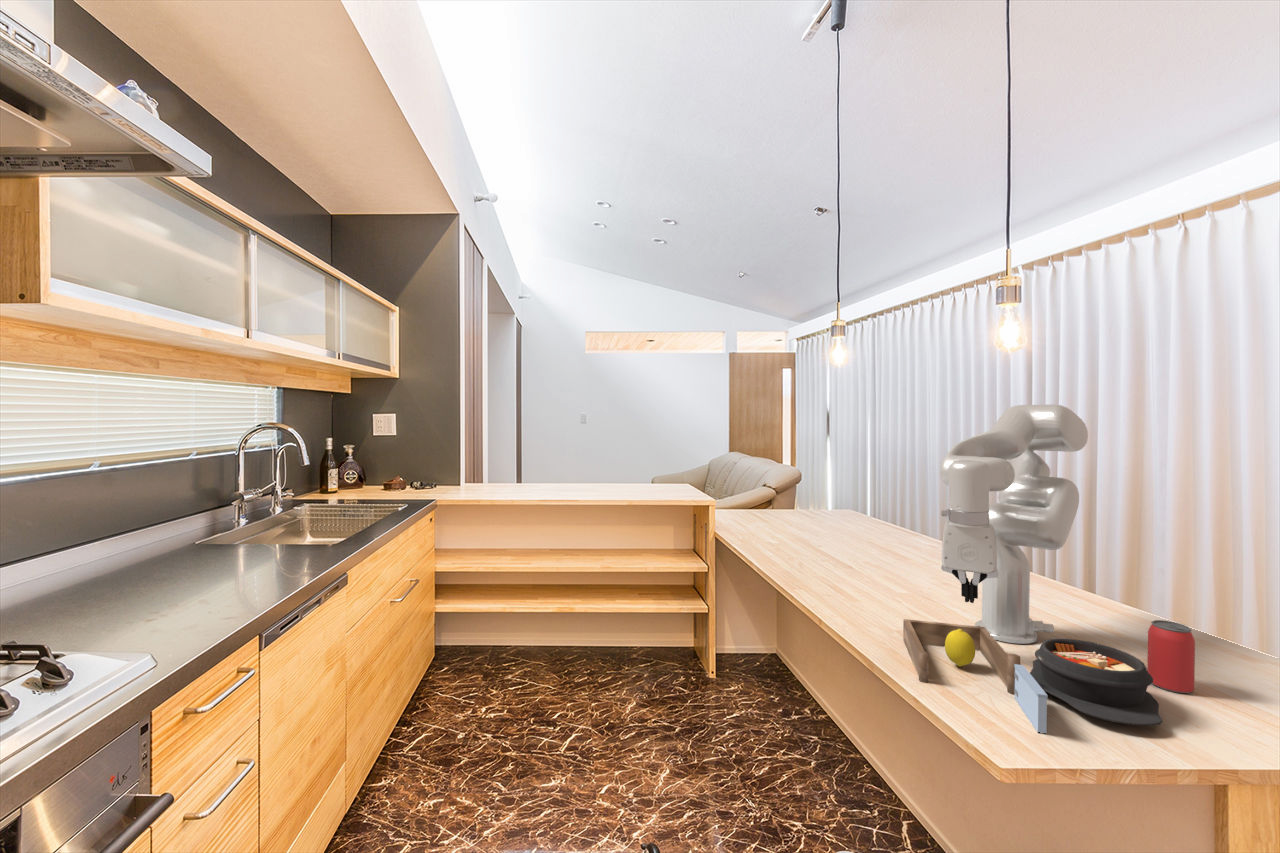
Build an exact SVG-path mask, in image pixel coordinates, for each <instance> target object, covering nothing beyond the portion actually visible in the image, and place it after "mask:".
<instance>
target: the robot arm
mask: <svg viewBox="0 0 1280 853" xmlns="http://www.w3.org/2000/svg"><path fill="white" fill-rule="evenodd" d="M1088 437H1089V432H1088V427H1087V426H1086V423H1085V422H1084V420H1083V419H1082V418H1080V416H1079V415H1077V414H1076V413H1075V412H1074V411H1073V410H1071V408H1069V407H1066V406H1063V405H1060V404H1020V405H1019V404H1018V405H1015V406H1011V407H1008V409H1006V410H1005V411H1004V412H1003V413H1002V414H1001V416H1000V417H999V418H998V419H997V421H996V422H995V423H994V424H993V426H992V427H990V429H989V430H988V431H986V432H983V433H980V434H977V435H975V436H972V437H969V438H967V439H965V440H961V441H960V442H958V443H956V444H955V445H954V446H953V447H951V448H950V450H949V452H947V454H946V455H945V456H944V458H943V460H942V462H941V463H940V468H939V476H940V479H941V481H942V482H943V483H944V484H945V485H946V486H948V508H947V509H945V510H943V509H942V510H941V512H940V515H941V517H945V518H947V519H948V520H946V521H945V523H944V526H943V531H942V532H943V533H942V541H941V542H942V543H941V544H942V545H941V548H942V549H941V563H942V564H941V568H940V569H941V571H943V572H945V573H949V574H952V575H953V576H954V577H955V578H956V579H957V580H958V581H959V583H960V585H961V588H960V589H961V593H960V594H961V597H962V598H963V597H964V602H965V603H968V602H969V603H971V604H974V602H975V599H979V589H978V588H979V584H980V583H982V587H981V592H982V595H981V603H982V604H981V620H977V621H976V622H975V623H974V626H978V627H985V628H986V629H987V631H988V632H989V633H990V634H991V635H992V637H993V638H994V639H995V640H996V641H999V642H1003V643H1008V644H1020V645H1021V644H1022V645H1027V644H1029V645H1030V644H1034V643H1035V642H1037V640H1038V634H1037V633H1038V632H1044V633H1049V634H1050V633H1052V634H1053V633H1055V626H1054V625H1053V624H1052V623H1044V622H1043V621H1042V620H1033V619H1032V618H1031V617H1030V590H1031V589H1030V588H1031V587H1030V586H1031V580H1030V578H1031V575H1030V574H1031V565H1030V562H1029V559H1028V557H1027V556H1026V554H1025V553H1024V551H1023V550H1022V548H1020V547H1028V548H1032V549H1033V548H1034V549H1040V550H1047V551H1057V550H1060V549H1061V548H1063V547H1064V545H1065V544H1066V542H1067V539H1068V538H1069V534H1070V532H1071V531H1072V530H1071V529H1072V527H1073V524H1074V521H1075V519H1076V516H1077V514H1078V513H1077V512H1078V510H1079V504H1080V492H1079V489H1078V487H1077V485H1076V484H1075V482H1073V481H1071V480H1070V479H1067V478H1064V477H1057V476H1051V468H1050V467H1049V465H1048V464H1047V463H1046V461H1045V460H1044V459H1043V458H1042V457H1041V456H1040V455H1038V454H1037V453H1036V452H1034V451H1042V452H1066V453H1070V452H1071V453H1073V452H1078V451H1080V450H1082V449H1084V448H1085V447H1086V445H1087V442H1088ZM1009 461H1010V462H1009ZM990 492H998V498H997V499H998V502H993V503H990ZM967 572H969V573H973V574H972V575H973V576H972V578H971V580H970V581H969V578H968V577H967V576H968V575H967Z"/></svg>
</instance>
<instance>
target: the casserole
mask: <svg viewBox="0 0 1280 853" xmlns="http://www.w3.org/2000/svg"><path fill="white" fill-rule="evenodd" d="M1034 655H1035V658H1036V659H1034V660H1033V661H1032V669H1031V670H1030V672H1029V673H1030V674H1031V675H1032V677H1033V678H1034V679H1035V680H1036V682H1037V683H1038V684H1039V685H1040V687H1041V688H1042V689H1043V690H1044V691H1045V693H1046V694H1049V695H1052V696H1053V697H1055V698H1057V699H1059V700H1061V701H1063V702H1065V703H1067V704H1068V705H1069V706H1071V707H1072V708H1074V709H1076V710H1077V711H1078V712H1081V713H1082V714H1085V715H1087V716H1089V717H1093V718H1096V719H1099V720H1104V721H1109V722H1112V723H1117V724H1124V725H1131V726H1140V727H1141V726H1147V727H1148V726H1153V727H1154V726H1158V725H1161V724H1162V723H1163V719H1162V716H1161V714H1160V712H1159V709H1160V703H1159V702H1158V700H1157V699H1156V698H1155V697H1154V696H1153V695H1152V694H1151V693H1149V692H1148V691H1147V689H1148V687H1149V686H1150V685H1153V684H1152V683H1153V678H1152V676H1151V675H1150V674H1149V673H1148V672H1147V667H1146V665H1145V663H1144V662H1143V661H1142V660H1140V659H1139V658H1138V657H1137V656H1134V655H1132V654H1130V653H1128V652H1125V651H1122V650H1120V649H1117V648H1114V647H1112V646H1108V645H1105V644H1102V643H1097V642H1092V641H1086V640H1080V639H1073V638H1050V639H1046V640H1044V641H1043V642H1042V643H1041V644H1040V647H1039V648H1038V649H1037V650H1035V652H1034Z"/></svg>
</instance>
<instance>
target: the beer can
mask: <svg viewBox="0 0 1280 853" xmlns="http://www.w3.org/2000/svg"><path fill="white" fill-rule="evenodd" d="M1195 659H1196V640H1195V637H1194V636H1193V633H1192V628H1190V627H1189V626H1188V625H1185V624H1182V623H1179V622H1174V621H1169V620H1163V619H1159V620H1158V619H1157V620H1154V619H1153V620H1152V621H1151V624H1150V626H1149V628H1148V630H1147V659H1146V660H1147V667H1146V669H1147V672H1148V673H1149V674H1150V675H1151V676H1152V678H1153V683H1152V684H1151V685H1153V686H1156V687H1157V688H1159V687H1160V688H1159V689H1161V690H1164V689H1166V690H1165V691H1168V690H1169V691H1168V692H1172V691H1173V693H1177V692H1179V693H1178V694H1190V693H1192V692H1194V691H1195V674H1196V673H1195V672H1196V671H1195V670H1196V669H1195V668H1196V667H1195V664H1196V662H1195Z"/></svg>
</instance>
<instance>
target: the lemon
mask: <svg viewBox="0 0 1280 853" xmlns="http://www.w3.org/2000/svg"><path fill="white" fill-rule="evenodd" d="M944 650H945V654H946V656H947V657H948V659H949V660H950V661H951V662H952V663H954V664H955V665H956V666H957V667H958V668H962V667H963V666H967V665H969V664H971V663H972V662H973V661H974V659H975V656H976V650H975V645H974V641H973V639H972V638H971V636H970V635H969V634H968V633H966V632H964V631H963V630H962V629H958V630H954V631H951V632H950V633H949V634H948V635H947V637H946V640H945V647H944Z"/></svg>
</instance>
